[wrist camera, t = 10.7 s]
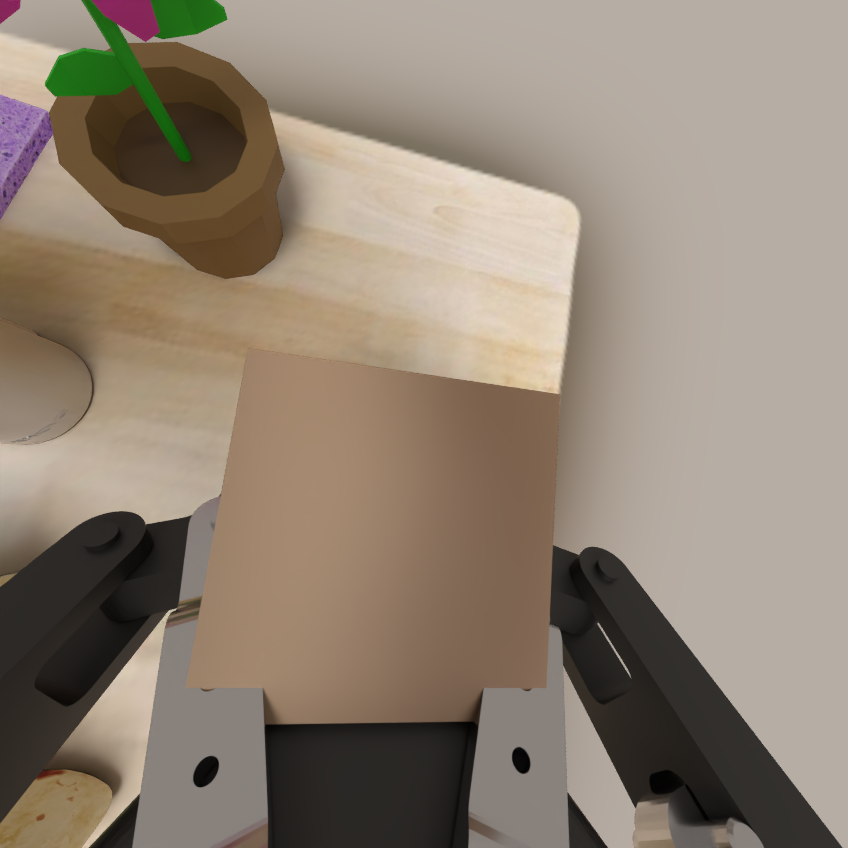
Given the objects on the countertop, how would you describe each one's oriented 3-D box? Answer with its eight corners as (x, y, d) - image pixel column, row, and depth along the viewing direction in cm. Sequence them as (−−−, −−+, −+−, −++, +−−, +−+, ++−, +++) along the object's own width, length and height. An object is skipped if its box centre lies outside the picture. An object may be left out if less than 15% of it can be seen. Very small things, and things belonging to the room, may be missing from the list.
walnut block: (314, 538, 15) (178, 725, 4) (329, 428, 16) (247, 348, 5) (423, 545, 16) (544, 720, 5) (433, 440, 16) (559, 394, 6)
